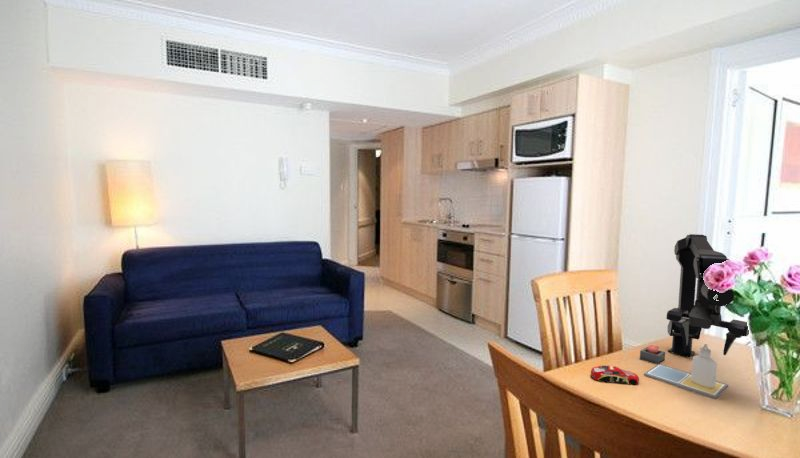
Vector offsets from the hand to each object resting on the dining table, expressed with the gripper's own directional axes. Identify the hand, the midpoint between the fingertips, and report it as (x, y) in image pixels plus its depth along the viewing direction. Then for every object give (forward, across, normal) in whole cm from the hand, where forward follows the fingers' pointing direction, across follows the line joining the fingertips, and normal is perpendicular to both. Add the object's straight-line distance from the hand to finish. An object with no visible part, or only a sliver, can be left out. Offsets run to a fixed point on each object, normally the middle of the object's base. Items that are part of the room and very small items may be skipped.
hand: (704, 349), depth 115 cm
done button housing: (+11, -16, +9) cm, 22 cm away
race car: (+12, -18, -16) cm, 27 cm away
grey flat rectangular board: (+11, -4, 0) cm, 12 cm away
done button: (+8, -16, +9) cm, 21 cm away
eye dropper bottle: (+11, 0, 0) cm, 11 cm away
